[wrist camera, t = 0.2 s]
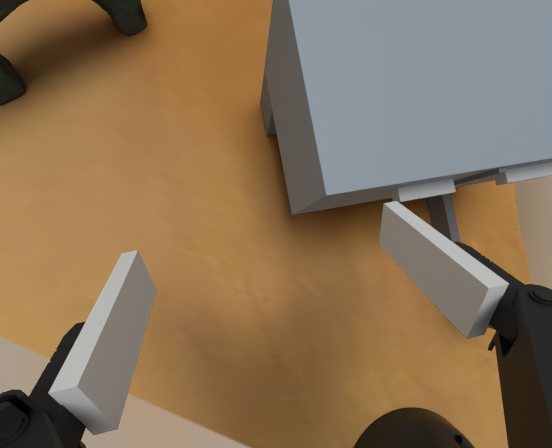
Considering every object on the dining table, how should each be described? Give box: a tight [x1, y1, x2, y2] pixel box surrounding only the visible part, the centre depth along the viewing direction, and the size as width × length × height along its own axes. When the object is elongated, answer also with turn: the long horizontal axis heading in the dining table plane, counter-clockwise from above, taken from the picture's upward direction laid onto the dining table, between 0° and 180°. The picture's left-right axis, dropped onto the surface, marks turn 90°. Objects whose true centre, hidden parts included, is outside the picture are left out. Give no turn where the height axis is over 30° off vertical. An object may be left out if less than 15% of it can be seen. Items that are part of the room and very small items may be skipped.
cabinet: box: [260, 0, 552, 215], centre depth 24 cm, size 15×23×16 cm, turn 101°
